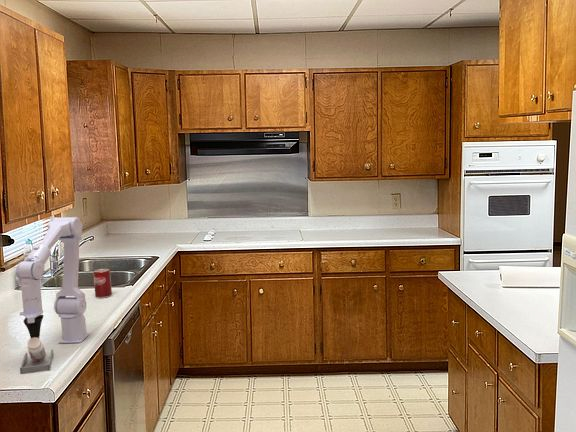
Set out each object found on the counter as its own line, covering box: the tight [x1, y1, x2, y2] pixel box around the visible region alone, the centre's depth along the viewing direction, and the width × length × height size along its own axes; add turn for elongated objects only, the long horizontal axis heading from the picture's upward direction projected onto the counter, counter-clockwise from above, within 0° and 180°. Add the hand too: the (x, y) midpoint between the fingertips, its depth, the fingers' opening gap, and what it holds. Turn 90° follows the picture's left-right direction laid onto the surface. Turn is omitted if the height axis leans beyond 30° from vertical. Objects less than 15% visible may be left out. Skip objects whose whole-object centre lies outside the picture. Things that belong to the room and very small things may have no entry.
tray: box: [19, 349, 55, 375], centre depth 211 cm, size 15×9×2 cm, turn 15°
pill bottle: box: [27, 337, 47, 362], centre depth 212 cm, size 5×5×8 cm
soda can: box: [92, 268, 113, 299], centre depth 295 cm, size 7×7×12 cm
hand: (35, 339), depth 212 cm, fingers closed
